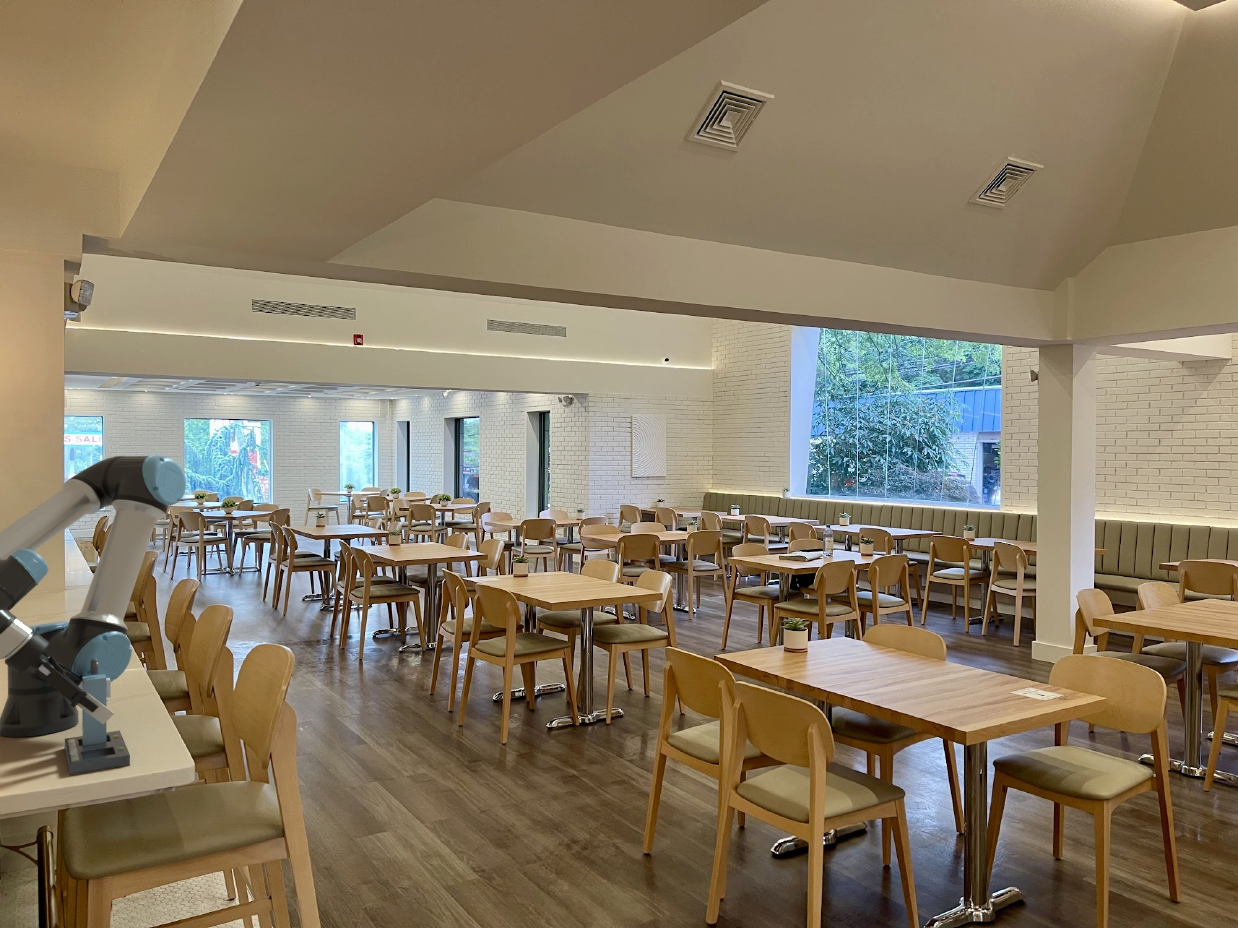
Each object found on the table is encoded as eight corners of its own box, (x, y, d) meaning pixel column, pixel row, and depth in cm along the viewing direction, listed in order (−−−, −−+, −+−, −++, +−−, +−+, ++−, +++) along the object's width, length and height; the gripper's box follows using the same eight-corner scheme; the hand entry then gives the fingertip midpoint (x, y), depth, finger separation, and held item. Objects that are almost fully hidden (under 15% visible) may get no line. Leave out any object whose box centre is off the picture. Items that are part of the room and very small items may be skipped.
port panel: (64, 748, 184) (64, 737, 184) (119, 739, 190) (119, 728, 190) (69, 775, 168) (69, 762, 168) (129, 765, 173) (129, 753, 173)
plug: (82, 749, 183) (82, 658, 183) (109, 745, 186) (109, 655, 186) (83, 754, 180) (83, 661, 180) (110, 750, 183) (110, 658, 183)
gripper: (2, 651, 184) (86, 713, 193) (1, 672, 164) (95, 740, 172) (33, 623, 187) (114, 685, 196) (36, 640, 167) (126, 709, 175)
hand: (105, 711), depth 184 cm, fingers open, 13 cm apart
